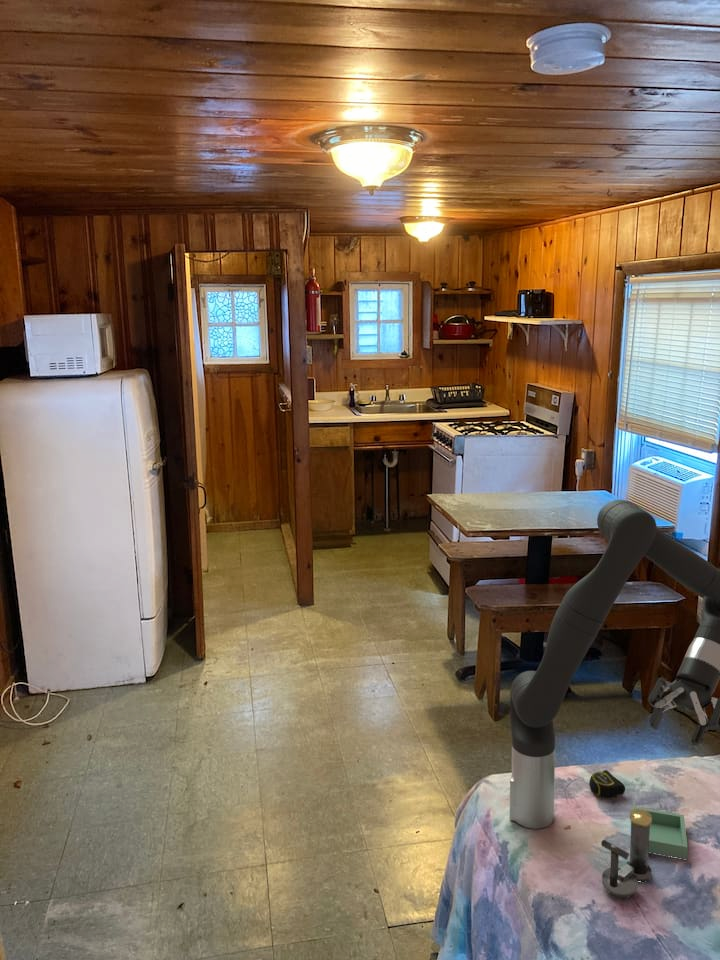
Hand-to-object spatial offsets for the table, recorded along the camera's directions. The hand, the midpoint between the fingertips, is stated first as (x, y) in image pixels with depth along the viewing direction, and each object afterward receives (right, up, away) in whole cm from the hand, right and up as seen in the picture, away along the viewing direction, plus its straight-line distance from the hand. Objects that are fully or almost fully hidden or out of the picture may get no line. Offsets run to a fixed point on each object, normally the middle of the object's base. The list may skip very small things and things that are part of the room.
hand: (673, 735), depth 149 cm
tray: (0, -24, +7) cm, 25 cm away
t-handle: (-13, -28, -7) cm, 31 cm away
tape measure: (-6, -22, +24) cm, 33 cm away
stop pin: (-8, -27, -2) cm, 28 cm away
